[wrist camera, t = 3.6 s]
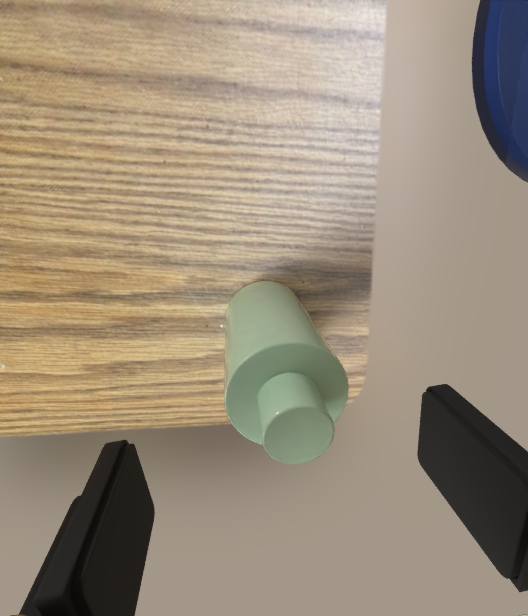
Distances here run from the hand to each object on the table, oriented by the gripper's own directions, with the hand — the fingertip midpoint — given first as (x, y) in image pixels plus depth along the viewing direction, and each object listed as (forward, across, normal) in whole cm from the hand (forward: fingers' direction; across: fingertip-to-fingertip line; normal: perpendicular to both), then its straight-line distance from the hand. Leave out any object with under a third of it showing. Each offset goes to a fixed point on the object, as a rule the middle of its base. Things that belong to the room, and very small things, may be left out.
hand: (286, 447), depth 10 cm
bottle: (+10, -1, 0) cm, 10 cm away
